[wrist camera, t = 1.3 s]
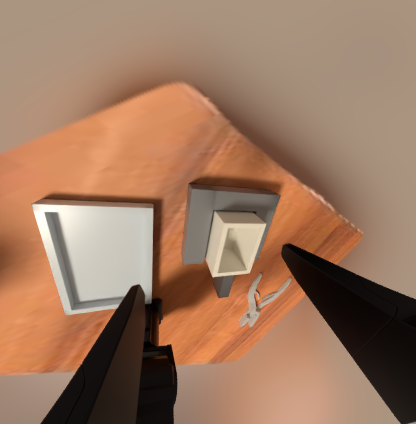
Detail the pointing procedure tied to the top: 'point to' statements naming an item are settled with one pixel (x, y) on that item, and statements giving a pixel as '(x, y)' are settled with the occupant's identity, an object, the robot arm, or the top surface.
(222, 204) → the bay
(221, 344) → the top surface
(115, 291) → the tray
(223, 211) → the box
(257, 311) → the pliers
